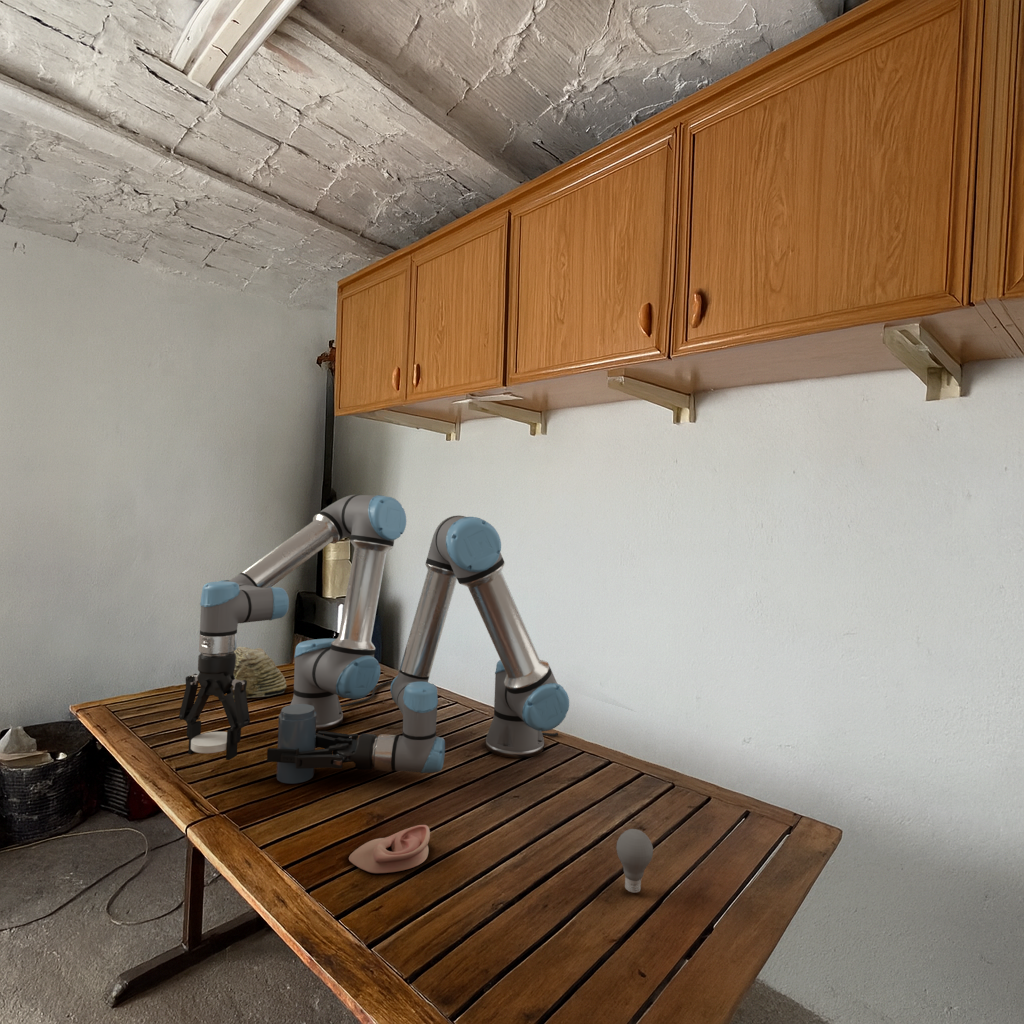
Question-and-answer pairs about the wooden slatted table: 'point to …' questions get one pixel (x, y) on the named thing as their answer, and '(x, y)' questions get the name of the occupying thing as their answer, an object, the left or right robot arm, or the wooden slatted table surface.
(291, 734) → the jar
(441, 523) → the right robot arm
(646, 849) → the light bulb
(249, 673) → the fossil
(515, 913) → the wooden slatted table surface
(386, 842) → the anatomical model
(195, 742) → the lid
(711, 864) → the wooden slatted table surface
